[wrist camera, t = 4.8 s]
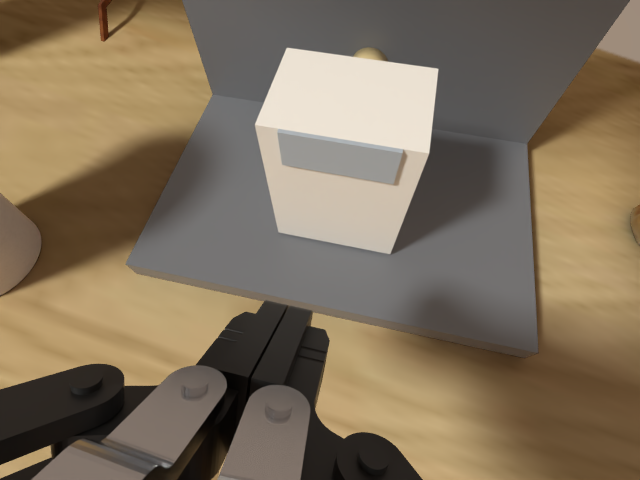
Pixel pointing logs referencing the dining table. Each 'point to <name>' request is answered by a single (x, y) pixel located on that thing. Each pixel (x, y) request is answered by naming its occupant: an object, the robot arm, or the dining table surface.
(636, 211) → the pastry
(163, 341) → the dining table surface
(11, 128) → the dining table surface
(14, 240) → the coffee cup
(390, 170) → the white box
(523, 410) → the dining table surface
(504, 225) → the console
